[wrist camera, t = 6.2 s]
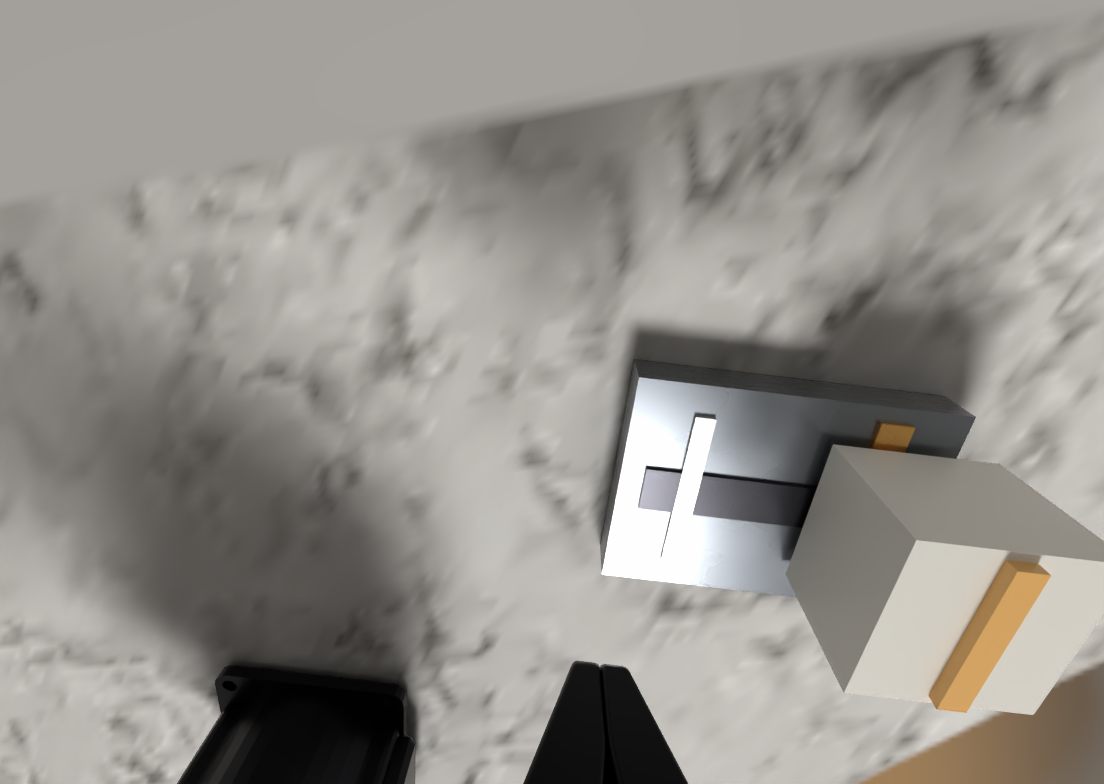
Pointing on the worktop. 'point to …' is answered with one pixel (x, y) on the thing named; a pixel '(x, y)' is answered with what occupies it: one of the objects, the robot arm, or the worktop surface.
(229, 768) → the robot arm
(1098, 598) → the block
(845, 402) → the panel
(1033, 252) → the worktop surface
